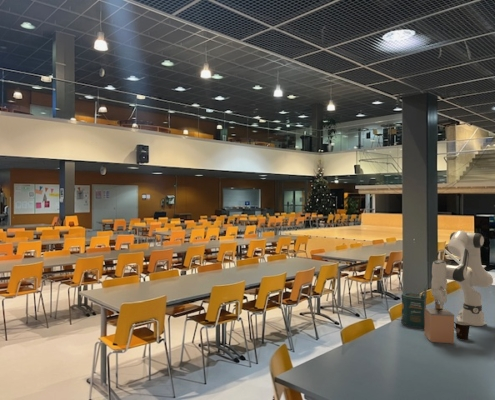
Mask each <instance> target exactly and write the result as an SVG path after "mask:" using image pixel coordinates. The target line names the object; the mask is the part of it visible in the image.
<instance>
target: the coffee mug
mask: <svg viewBox="0 0 495 400" xmlns="http://www.w3.org/2000/svg"><path fill="white" fill-rule="evenodd" d="M470 326H471V325H470V324H469V323H467V322H462V321H458V320H457V321H454V331H455V333H456V339H458V340H462V341H468V340H469V335H470Z"/></svg>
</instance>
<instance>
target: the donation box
mask: <svg viewBox="0 0 495 400" xmlns="http://www.w3.org/2000/svg"><path fill="white" fill-rule="evenodd" d="M427 290H428V289H427V284H426V285H425V287H424V290H423V292H422V293H417V292H416V293H415V292H402V294H401V296H400V297H401V320H400V323H401V324H403V325H405V326H408V327H415V328H421V329H425V308H427V297H428V296H427V295H428V293H427V292H428V291H427Z"/></svg>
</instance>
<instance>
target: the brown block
mask: <svg viewBox="0 0 495 400" xmlns="http://www.w3.org/2000/svg"><path fill="white" fill-rule="evenodd" d="M454 322H455V314H454V313H452V312H451V311H450V310H449V309H448V308H443V310H440V312H438V310H436V309H435V307H434V308H432V307H431V308H430V307H426V308H425V328H423V329H424V332H423V334H424V336H425V337H426V338H427V340H428V341H429V342H431V343H432V342H434V343H442V344H445V343H446V344H454V343H455V328H454V327H455V323H454Z"/></svg>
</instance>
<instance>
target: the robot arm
mask: <svg viewBox="0 0 495 400" xmlns="http://www.w3.org/2000/svg"><path fill="white" fill-rule="evenodd" d="M484 242H485V237H484V236H483V235H482V233H478V232H470V231H469V232H468V231H464V230H456V231H454V232H452V233H451V234H450V236H449V242H448V243H447V249H448V252H449V253H451V254H452V255H453V256H455V257H457V258H459V264H458V265H453V264H452V265H451V264H447V262H446V261H445V260H441V259H436V260H434V261H433V262H432V265H431V276H432V277H431V282H430V289H431V295H432V297H433V298H434V304H440V308H442V309H444V305H445V304H447V302H448V297H447V295H448V294H447V291H446V289H448V286H447V285H448V284H447V283H448V281H447V280H449V281H454V282H455V283H457V285H459V286H460V288H461V290H462V293H463V304H462V308H461V309H460V310H459V311H458V313H457V314H458V315H457V316H456V320H457V321H462V322H467V323H469V324H470V326H474V327H475V326H476V327H481V326H485V325H487V321H486V322H485V313H484V312H483V306H482V295H481V294H480V292H479V291H477V290H475V289H474V287H478V288H479V287H480V288H490V287H491V286H492V285H493V283H494V278H493V277H492V275H491V274H490V273H488V271H486V270H485V268H484V266H483V265H482V257H481V247H483V245H484ZM468 268H469V269H471V270H468Z"/></svg>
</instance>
